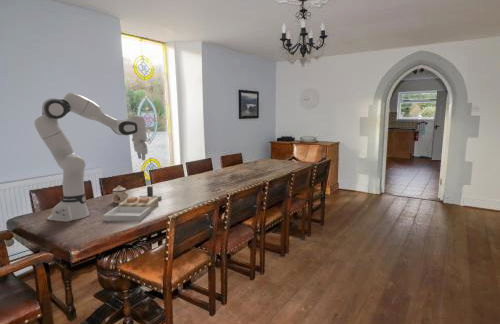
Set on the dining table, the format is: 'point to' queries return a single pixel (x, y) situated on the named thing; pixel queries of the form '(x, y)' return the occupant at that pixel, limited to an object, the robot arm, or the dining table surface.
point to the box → (127, 213)
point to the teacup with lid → (119, 194)
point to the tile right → (144, 199)
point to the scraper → (150, 193)
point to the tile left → (132, 199)
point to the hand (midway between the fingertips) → (141, 159)
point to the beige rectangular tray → (141, 203)
